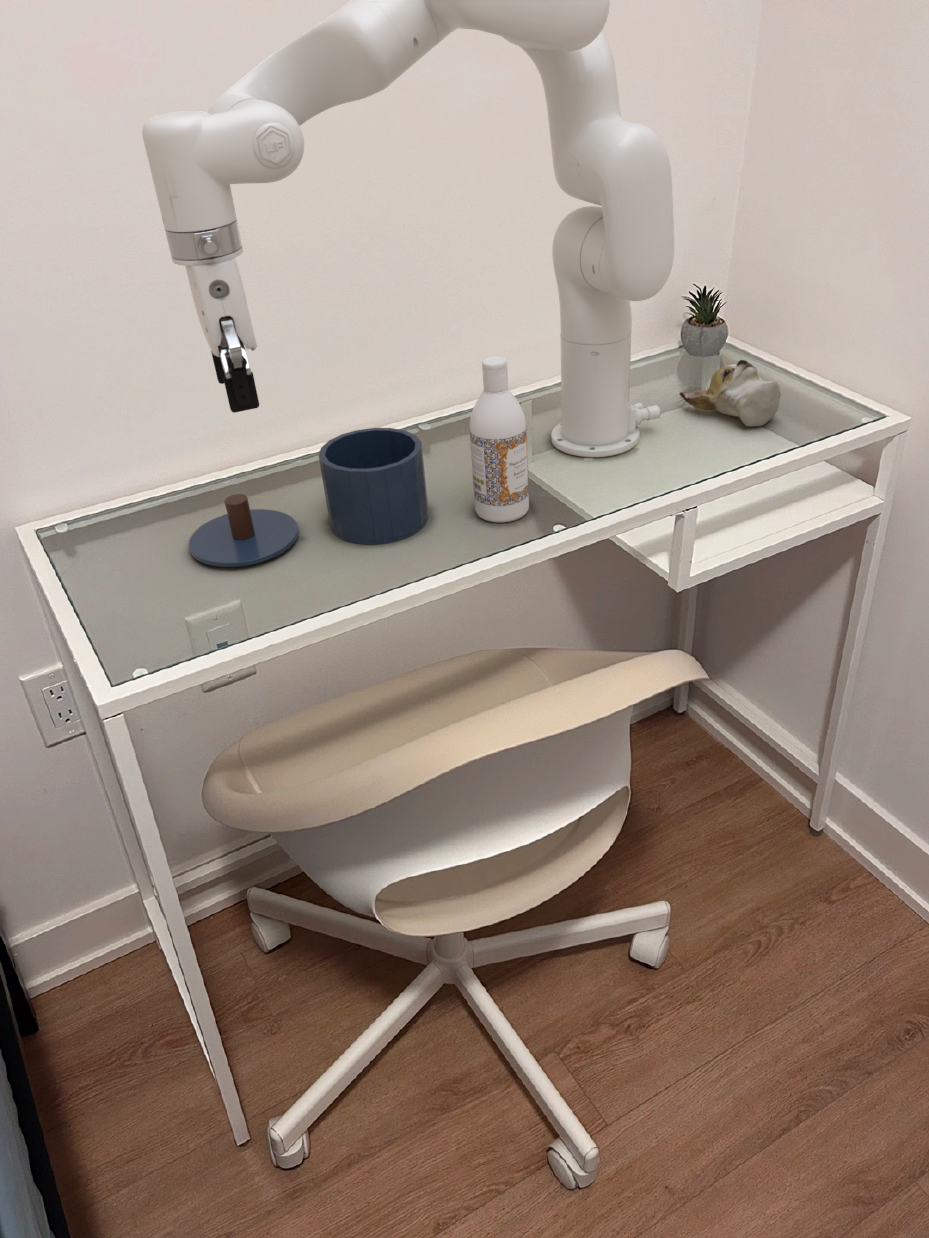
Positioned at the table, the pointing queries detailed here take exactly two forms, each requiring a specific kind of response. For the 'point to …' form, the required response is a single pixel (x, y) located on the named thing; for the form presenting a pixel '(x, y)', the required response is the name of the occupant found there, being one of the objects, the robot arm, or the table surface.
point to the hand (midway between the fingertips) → (238, 394)
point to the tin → (374, 485)
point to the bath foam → (499, 448)
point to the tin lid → (243, 535)
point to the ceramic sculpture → (738, 394)
